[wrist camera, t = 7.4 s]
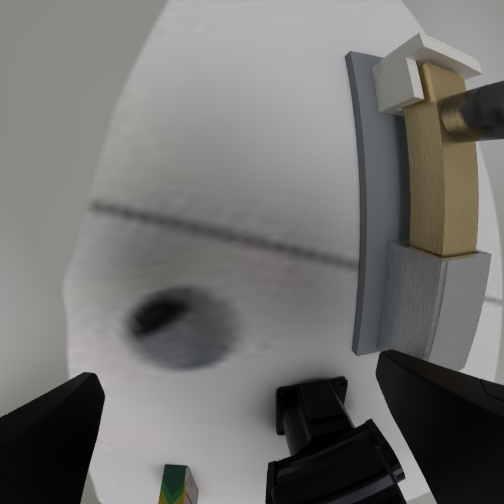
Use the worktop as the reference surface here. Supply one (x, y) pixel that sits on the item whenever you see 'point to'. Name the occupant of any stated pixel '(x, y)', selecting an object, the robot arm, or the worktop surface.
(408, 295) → the sleeve
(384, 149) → the board
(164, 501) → the crayon box
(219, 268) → the worktop surface
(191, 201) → the worktop surface
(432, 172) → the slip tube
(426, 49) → the socket
